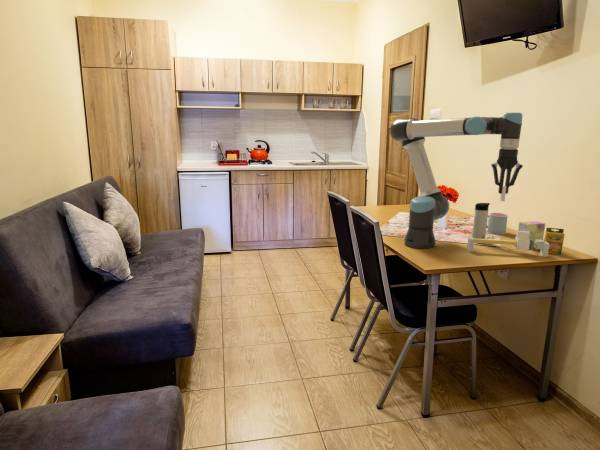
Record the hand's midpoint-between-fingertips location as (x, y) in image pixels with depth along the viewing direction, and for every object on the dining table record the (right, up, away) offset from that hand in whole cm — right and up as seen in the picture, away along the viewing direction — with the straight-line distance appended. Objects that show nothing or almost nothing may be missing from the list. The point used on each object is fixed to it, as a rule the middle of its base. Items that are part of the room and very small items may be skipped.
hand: (502, 200), depth 189 cm
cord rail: (+4, -24, +4) cm, 25 cm away
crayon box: (+26, -24, +5) cm, 36 cm away
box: (+21, -22, +16) cm, 34 cm away
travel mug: (-1, -20, +23) cm, 31 cm away
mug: (+15, -15, +42) cm, 47 cm away
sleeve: (+10, -22, +2) cm, 24 cm away
